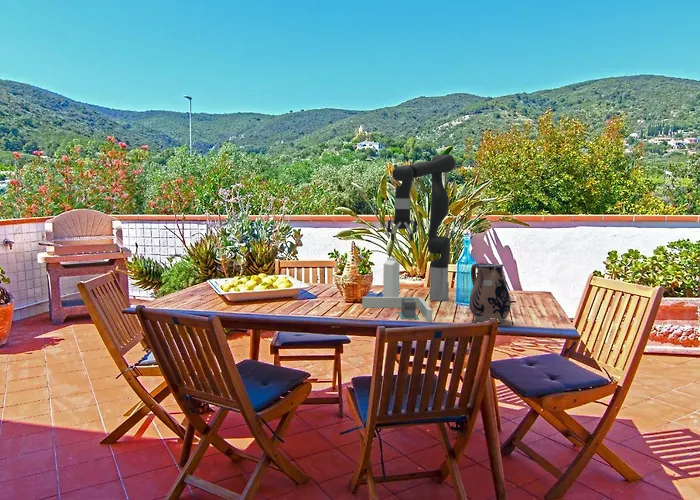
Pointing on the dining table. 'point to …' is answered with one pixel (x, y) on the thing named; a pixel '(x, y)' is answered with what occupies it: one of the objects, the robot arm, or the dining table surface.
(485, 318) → the ceramic pitcher
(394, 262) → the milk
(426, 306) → the arena
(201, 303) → the dining table surface
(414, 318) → the pad
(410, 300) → the bar
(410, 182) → the robot arm
